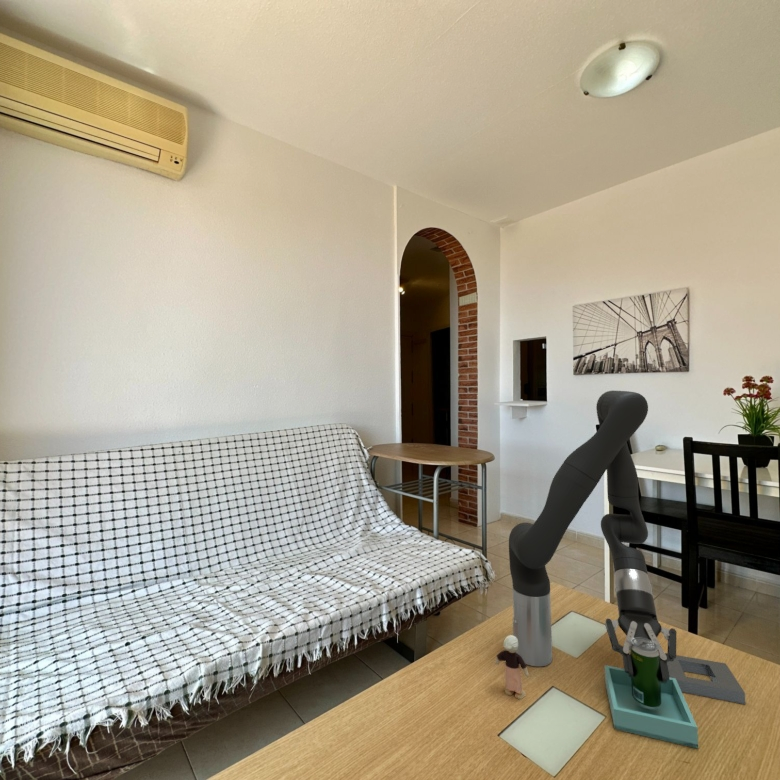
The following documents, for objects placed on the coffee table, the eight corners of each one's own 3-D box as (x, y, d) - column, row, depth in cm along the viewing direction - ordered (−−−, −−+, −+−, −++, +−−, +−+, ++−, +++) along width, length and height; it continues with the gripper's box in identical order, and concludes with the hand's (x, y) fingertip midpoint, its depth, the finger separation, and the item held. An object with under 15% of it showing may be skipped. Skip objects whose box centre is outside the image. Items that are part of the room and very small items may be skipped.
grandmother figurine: (531, 691, 93) (529, 635, 93) (529, 702, 90) (527, 644, 90) (497, 682, 97) (495, 628, 97) (493, 693, 93) (492, 637, 93)
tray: (614, 729, 82) (613, 709, 82) (605, 682, 95) (604, 665, 96) (698, 748, 77) (697, 727, 77) (676, 696, 90) (675, 678, 91)
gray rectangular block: (668, 689, 93) (668, 678, 93) (657, 661, 102) (656, 651, 102) (745, 704, 88) (744, 692, 88) (726, 674, 97) (725, 663, 97)
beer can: (654, 714, 83) (652, 655, 83) (626, 698, 87) (624, 642, 87) (666, 703, 86) (664, 645, 86) (639, 687, 90) (637, 633, 90)
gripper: (601, 583, 96) (610, 667, 85) (673, 592, 91) (692, 683, 80) (599, 595, 101) (607, 676, 90) (667, 604, 96) (685, 691, 85)
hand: (647, 678), depth 85 cm, fingers closed on beer can, 5 cm apart
